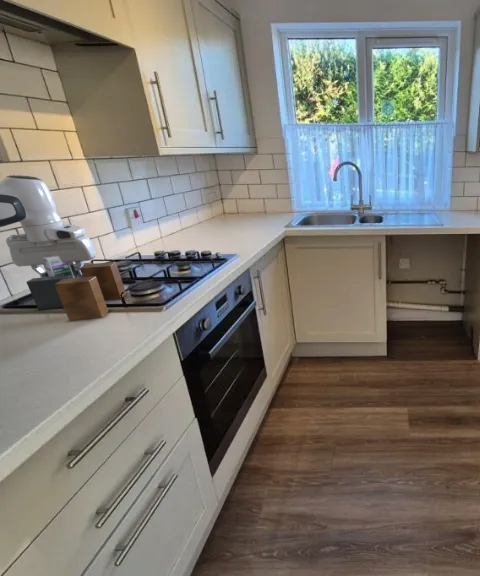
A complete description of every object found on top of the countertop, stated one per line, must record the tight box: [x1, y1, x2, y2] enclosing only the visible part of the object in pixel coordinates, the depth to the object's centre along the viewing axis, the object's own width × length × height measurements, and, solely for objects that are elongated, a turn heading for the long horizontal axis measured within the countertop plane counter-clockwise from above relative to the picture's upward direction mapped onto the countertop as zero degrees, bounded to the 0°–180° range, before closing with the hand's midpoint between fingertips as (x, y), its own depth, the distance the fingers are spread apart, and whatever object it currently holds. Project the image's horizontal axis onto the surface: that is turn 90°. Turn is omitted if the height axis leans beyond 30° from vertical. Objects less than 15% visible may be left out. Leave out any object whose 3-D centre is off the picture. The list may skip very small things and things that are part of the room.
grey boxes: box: [25, 262, 93, 311], centre depth 113 cm, size 10×15×9 cm, turn 14°
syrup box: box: [43, 256, 79, 278], centre depth 111 cm, size 6×6×14 cm
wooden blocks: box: [54, 261, 127, 322], centre depth 106 cm, size 8×17×11 cm, turn 14°
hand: (63, 276), depth 111 cm, fingers closed on syrup box, 8 cm apart
